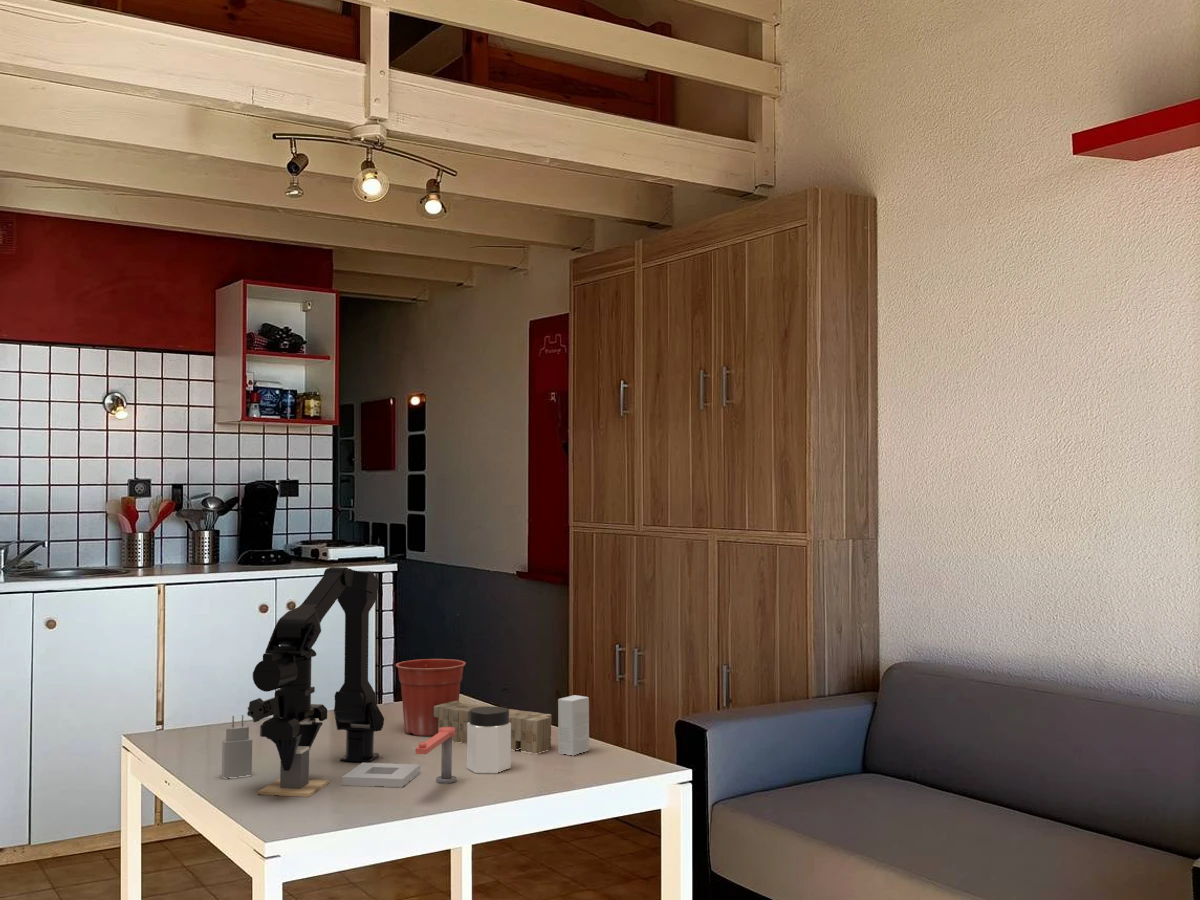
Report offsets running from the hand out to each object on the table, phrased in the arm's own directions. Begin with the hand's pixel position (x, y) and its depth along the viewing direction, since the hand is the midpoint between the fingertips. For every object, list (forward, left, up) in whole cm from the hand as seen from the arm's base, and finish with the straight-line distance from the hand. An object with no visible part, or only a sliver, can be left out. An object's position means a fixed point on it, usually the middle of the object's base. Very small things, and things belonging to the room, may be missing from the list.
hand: (294, 766), depth 215 cm
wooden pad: (0, 0, -4) cm, 4 cm away
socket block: (-10, +19, -4) cm, 21 cm away
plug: (0, 0, -4) cm, 4 cm away
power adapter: (-8, -15, -4) cm, 18 cm away
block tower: (-45, +29, -5) cm, 54 cm away
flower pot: (-56, +11, -4) cm, 57 cm away
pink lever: (-3, +27, +5) cm, 27 cm away
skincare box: (-38, +48, -4) cm, 61 cm away
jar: (-21, +33, -4) cm, 39 cm away
